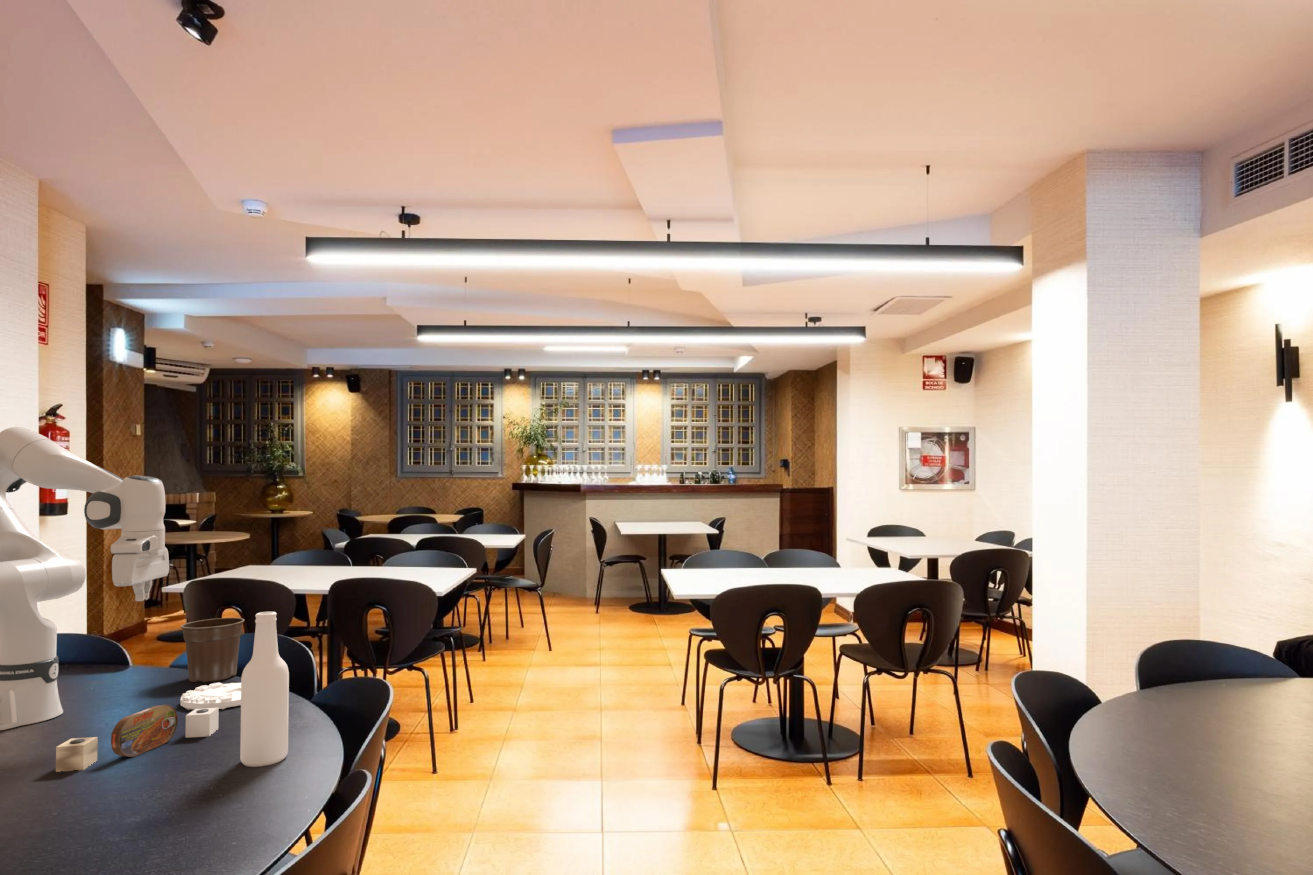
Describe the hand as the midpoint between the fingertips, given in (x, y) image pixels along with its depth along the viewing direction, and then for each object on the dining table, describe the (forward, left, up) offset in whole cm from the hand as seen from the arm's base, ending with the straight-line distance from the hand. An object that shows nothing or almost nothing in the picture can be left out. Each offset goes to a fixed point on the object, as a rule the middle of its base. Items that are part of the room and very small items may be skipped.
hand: (142, 600), depth 186 cm
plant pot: (0, +43, -29) cm, 52 cm away
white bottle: (+38, -32, -29) cm, 58 cm away
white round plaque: (+13, +17, -30) cm, 37 cm away
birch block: (+1, -28, -29) cm, 40 cm away
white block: (+18, -11, -29) cm, 36 cm away
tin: (+10, -20, -29) cm, 37 cm away
